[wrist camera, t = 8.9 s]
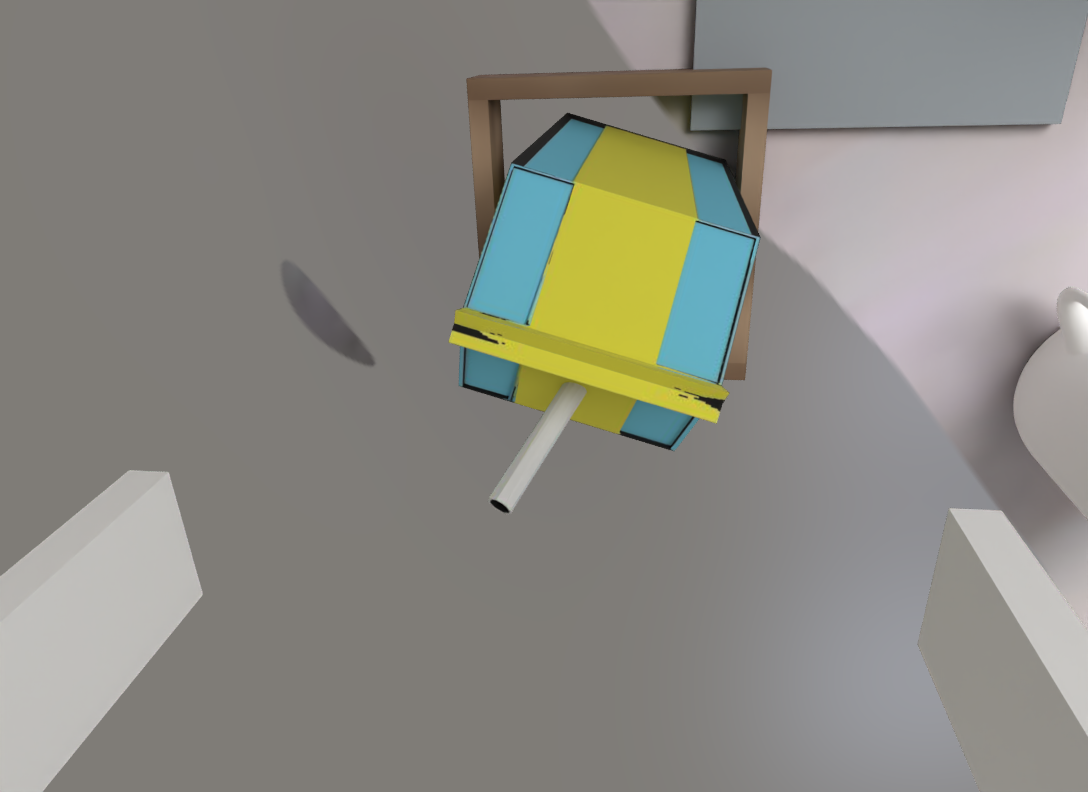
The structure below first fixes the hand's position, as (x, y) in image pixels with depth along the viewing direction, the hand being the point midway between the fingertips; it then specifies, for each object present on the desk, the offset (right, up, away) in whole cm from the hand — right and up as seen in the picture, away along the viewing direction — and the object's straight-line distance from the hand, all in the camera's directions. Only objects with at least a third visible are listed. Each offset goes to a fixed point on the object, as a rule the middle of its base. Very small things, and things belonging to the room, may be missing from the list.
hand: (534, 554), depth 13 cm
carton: (+3, +10, +21) cm, 24 cm away
